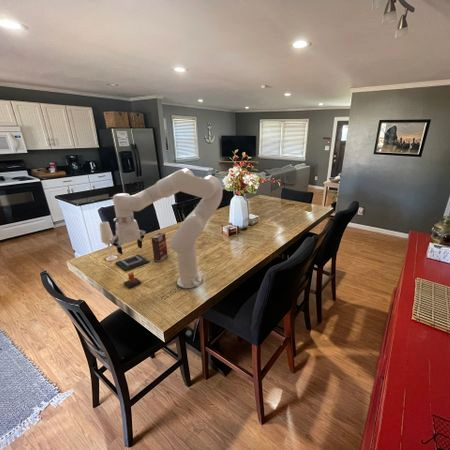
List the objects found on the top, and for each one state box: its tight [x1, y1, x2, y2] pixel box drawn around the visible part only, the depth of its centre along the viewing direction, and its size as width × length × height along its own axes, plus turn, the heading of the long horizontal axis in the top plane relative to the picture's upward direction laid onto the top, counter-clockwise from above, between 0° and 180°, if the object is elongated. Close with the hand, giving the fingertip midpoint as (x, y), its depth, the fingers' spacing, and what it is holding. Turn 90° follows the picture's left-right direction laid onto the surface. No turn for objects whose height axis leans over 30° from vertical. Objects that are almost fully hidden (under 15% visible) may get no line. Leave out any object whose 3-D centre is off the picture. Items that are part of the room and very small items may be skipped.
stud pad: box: [123, 271, 142, 289], centre depth 125 cm, size 6×6×6 cm
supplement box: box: [151, 232, 169, 263], centre depth 151 cm, size 9×5×16 cm, turn 168°
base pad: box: [115, 254, 149, 272], centre depth 147 cm, size 14×14×2 cm
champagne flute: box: [99, 221, 118, 262], centre depth 149 cm, size 7×7×24 cm
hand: (130, 250), depth 122 cm, fingers open, 9 cm apart
